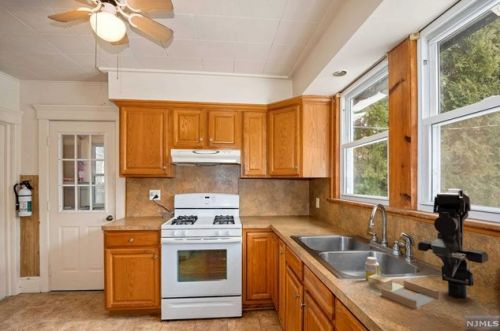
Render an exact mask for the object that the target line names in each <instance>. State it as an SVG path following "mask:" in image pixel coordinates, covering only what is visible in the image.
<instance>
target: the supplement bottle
mask: <svg viewBox="0 0 500 331" xmlns="http://www.w3.org/2000/svg"><path fill="white" fill-rule="evenodd" d="M364 265H365V266H364V267H365V268H364V269H365V281H366V282H368V277H369V276H372V275H375V274H377V275H380V264H379V262H378V258H377V257H373V256H367V258H366V261H365V264H364Z"/></svg>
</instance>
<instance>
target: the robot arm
mask: <svg viewBox="0 0 500 331" xmlns="http://www.w3.org/2000/svg"><path fill="white" fill-rule="evenodd" d="M433 199H434V200H433V211H432V212H433V214H438V217H437V218H435V220H434V222H433V227H434V229H435V230H436V231H437V235H436V236H437V237H436V239H435V238H434V240H432V241H430V240H423V241H419V242H418V243H417V250H418V251H422V252H428V251H429V250H431V252H432V254H434V255H435V257H438V258H439V259H440V260H441V262H442V264H441V277H442V281H443V282H447V294H448V296H449V297H452V298H454V299H467V298H468V291H467V290H468V289H467V287H471V286H474V274H473V272H472V271H471V268H469V264H468V262H472V263H478V264H484V263H486V262H488V261H489V260H490V259H489V254H488V253H487V252H486V251H484V250H479V249H473V248H472V249H469V250H465V249H464V222H465V221H466V220H467V219H468V218H469V214H470V213H469V212H471V209H472V208H471V200H470V197H469V196H468V195H467V194H465V193H464V190H463V189H461V188H446V192H437V193H436V195H435V196H434V198H433ZM467 261H468V262H467Z"/></svg>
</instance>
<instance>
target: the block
mask: <svg viewBox="0 0 500 331" xmlns="http://www.w3.org/2000/svg"><path fill="white" fill-rule="evenodd" d="M367 282H368V286H369V287H371V288H373V289H376V290H379V291H381V289H382V288H384V289H387V290H390V291H391V290H393V289H392V282H393V279H391V278H388V277H385V276H382V275H380V274H379V275H377V274H375V275H372V276H369V277H368V280H367Z"/></svg>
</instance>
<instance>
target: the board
mask: <svg viewBox="0 0 500 331" xmlns="http://www.w3.org/2000/svg"><path fill="white" fill-rule="evenodd" d="M363 289H364V290H367V291H369V292H372V293H375V294H377V295H379V296H382V297H384V298H386V299H389V300H392V301H395V302H397V303H399V304H402V305H405V306H407V307H410V308H412V309H414V310H417V309H418V308H420V307H422V306H424V305H427V304H428V303H430V302H432V301H434V300H436V299H439V290H437V289H434V288H430V287H427V286H424V285H422V284H418V283H416V282H412V281H408V280H405V279H404V280H403V285H401V284H399V283H395V282H393V281H392V289H393V290H391V291H390V290H387V289H384V288H382V289H381V291H379V290H376V289H373V288H371V287H369V285H368V286H364V287H363ZM404 289H408V290H411V291H414V292H417V293H410V292H408V291H405V290H404Z"/></svg>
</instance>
